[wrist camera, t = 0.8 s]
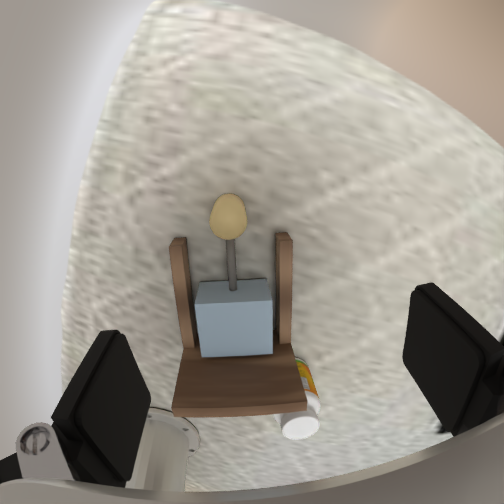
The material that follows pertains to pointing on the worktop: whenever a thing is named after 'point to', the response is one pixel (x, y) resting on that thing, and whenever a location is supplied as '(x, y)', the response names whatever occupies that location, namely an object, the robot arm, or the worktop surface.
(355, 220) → the worktop surface
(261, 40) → the worktop surface
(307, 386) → the supplement bottle
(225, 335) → the push plunger
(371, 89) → the worktop surface
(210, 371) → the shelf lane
